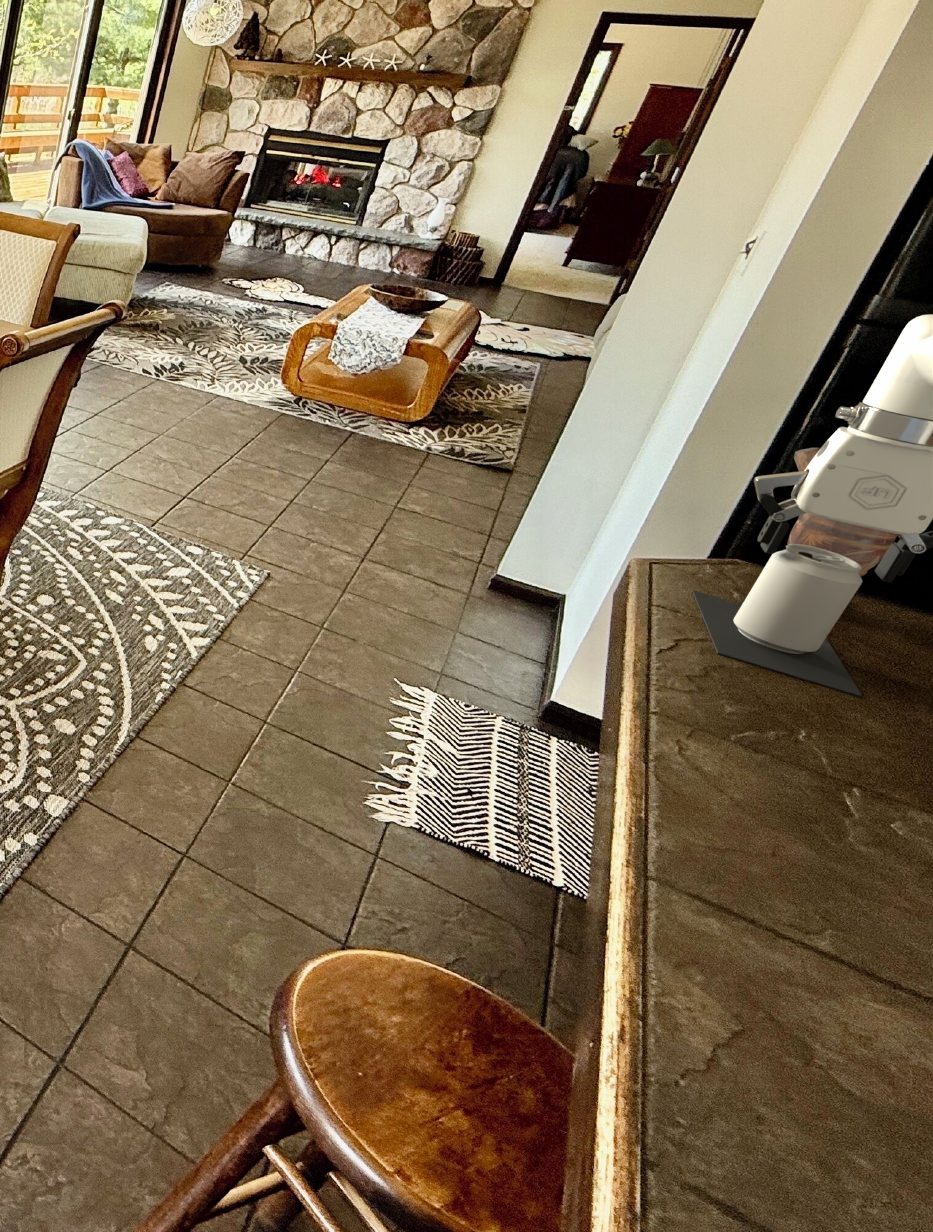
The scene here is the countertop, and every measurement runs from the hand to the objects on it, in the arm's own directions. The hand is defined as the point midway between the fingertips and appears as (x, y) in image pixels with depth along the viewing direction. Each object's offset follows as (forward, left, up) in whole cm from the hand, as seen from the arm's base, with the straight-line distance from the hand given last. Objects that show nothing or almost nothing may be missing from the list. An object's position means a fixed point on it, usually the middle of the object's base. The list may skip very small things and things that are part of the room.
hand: (823, 563), depth 108 cm
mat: (0, 0, -11) cm, 11 cm away
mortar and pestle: (-4, -19, -11) cm, 23 cm away
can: (0, 0, -11) cm, 11 cm away
